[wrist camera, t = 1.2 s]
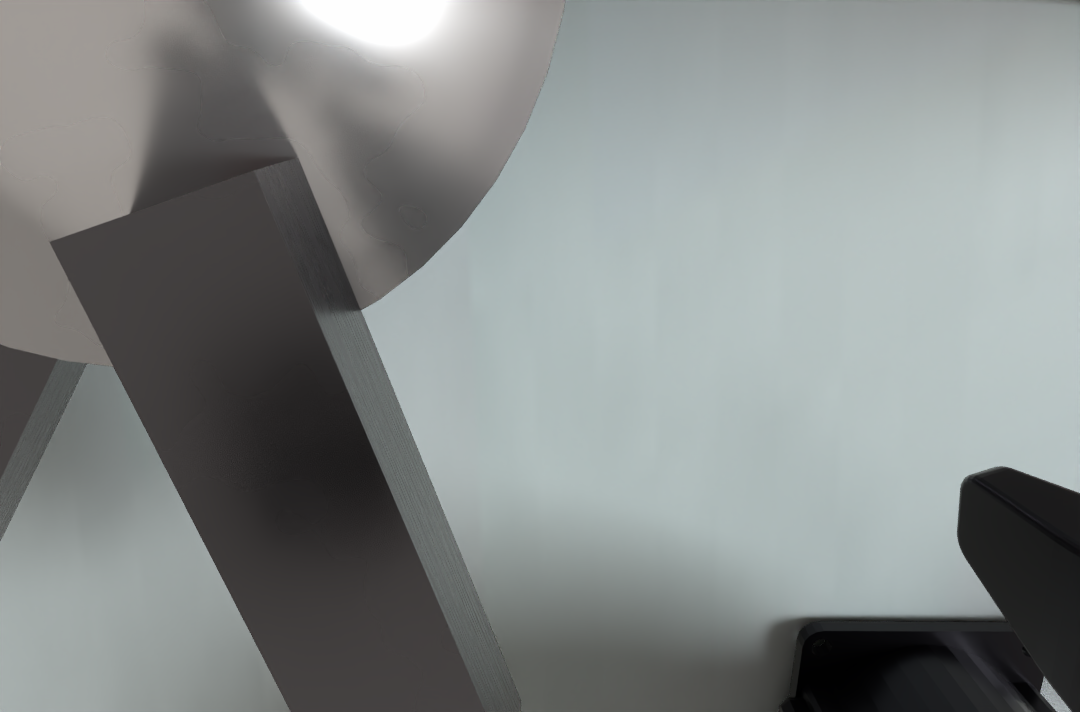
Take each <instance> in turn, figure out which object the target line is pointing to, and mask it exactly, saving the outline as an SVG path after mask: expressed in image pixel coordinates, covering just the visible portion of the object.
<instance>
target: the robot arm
mask: <svg viewBox="0 0 1080 712" xmlns="http://www.w3.org/2000/svg"><path fill="white" fill-rule="evenodd" d="M957 537H958V542H959V546H960V548H961V551H962V553H963V555H964V557H965V558H966V560H967V561H968V563H969V564H970V566H971V567H972V569H973V570H974V572H975V573H976V575H977V576H978V578H979V579H980V581H981V582H982V584H983V585H984V587H985V588H986V590H987V591H988V593H989V594H990V596H991V597H992V599H993V600H994V602H995V603H996V605H997V606H998V608H999V609H1000V611H1001V612H1002V614H1003V615H1004V617H1005V618H1006V620H1007V621H1008V622H821V621H819V622H813V623H810V624H808V625H806V626H804V627H803V628H802V630H801V631H800V632H799V635H798V637H797V643H796V650H795V657H794V665H793V672H792V679H791V686H790V693H789V697H787V698H785V699H784V701H783V702H782V703H781V705H780V706H779V712H1056V710H1055V709H1054V708H1053V707H1052V706H1051V705H1050V704H1049V703H1048V701H1047V700H1046V699H1045V698H1044V697H1043V696H1042V695H1041V694H1040V690H1041V686H1042V682H1043V678H1044V676H1045V678H1046V679H1047V680H1048V682H1049V683H1050V685H1051V686H1052V687H1053V688H1054V690H1055V691H1056V692H1057V694H1058V695H1059V696H1060V697H1061V699H1062V700H1063V701H1064V703H1065V704H1066V705H1067V706H1068V708H1069V709H1070V710H1071V711H1072V712H1080V493H1078V492H1075V491H1072V490H1070V489H1067V488H1064V487H1061V486H1059V485H1056V484H1053V483H1050V482H1048V481H1045V480H1042V479H1040V478H1037V477H1034V476H1031V475H1029V474H1026V473H1023V472H1020V471H1018V470H1015V469H1012V468H1008V467H1003V466H1000V467H994V468H991V469H987V470H984V471H981V472H978V473H975V474H971V475H969V476H967V477H965V479H964V480H963V482H962V484H961V488H960V501H959V514H958V527H957ZM821 639H825V642H824V643H823V644H821V645H820V646H816V647H814V646H813V644H814V643H815V642H816V641H817V640H821ZM1023 646H1024V647H1023Z"/></svg>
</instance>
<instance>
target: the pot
mask: <svg viewBox="0 0 1080 712" xmlns="http://www.w3.org/2000/svg"><path fill="white" fill-rule="evenodd" d="M86 365H87V363H79V362H70V361H64V360H60V359H56V358H51V357H47V356H43V355H39V354H34V353H30V352H26V351H22V350H18V349H13V348H9V347H6V346H4V345H1V344H0V541H1V539H2V537H3V535H4V533H5V531H6V529H7V527H8V525H9V523H10V521H11V519H12V517H13V514H14V512H15V510H16V508H17V506H18V504H19V502H20V500H21V498H22V496H23V494H24V492H25V490H26V488H27V486H28V484H29V482H30V480H31V478H32V475H33V473H34V471H35V469H36V467H37V465H38V463H39V461H40V459H41V457H42V455H43V453H44V451H45V449H46V447H47V445H48V443H49V441H50V439H51V437H52V434H53V432H54V430H55V428H56V426H57V424H58V422H59V420H60V418H61V416H62V414H63V412H64V410H65V408H66V406H67V404H68V402H69V400H70V398H71V395H72V393H73V391H74V389H75V387H76V385H77V383H78V381H79V379H80V377H81V375H82V373H83V371H84V369H85V367H86Z"/></svg>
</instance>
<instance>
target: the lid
mask: <svg viewBox="0 0 1080 712" xmlns="http://www.w3.org/2000/svg"><path fill="white" fill-rule="evenodd" d="M564 5H565V0H0V344H1V345H4V346H6V347H9V348H13V349H18V350H22V351H26V352H30V353H34V354H39V355H43V356H47V357H51V358H56V359H60V360H64V361H70V362H79V363H88V364H96V365H105V366H113V367H114V369H115V371H116V373H117V375H118V377H119V379H120V380H121V382H122V384H123V386H124V388H125V390H126V392H127V394H128V396H129V398H130V400H131V402H132V404H133V406H134V408H135V410H136V412H137V414H138V415H139V417H140V419H141V421H142V423H143V425H144V427H145V429H146V431H147V433H148V435H149V437H150V439H151V441H152V443H153V445H154V447H155V449H156V450H157V452H158V454H159V456H160V458H161V460H162V462H163V464H164V466H165V468H166V470H167V472H168V474H169V476H170V478H171V480H172V482H173V484H174V485H175V487H176V489H177V491H178V493H179V495H180V497H181V499H182V501H183V503H184V505H185V507H186V509H187V511H188V513H189V515H190V517H191V519H192V520H193V522H194V524H195V526H196V528H197V530H198V532H199V534H200V536H201V538H202V540H203V542H204V544H205V546H206V548H207V550H208V552H209V554H210V555H211V557H212V559H213V561H214V563H215V565H216V567H217V569H218V571H219V573H220V575H221V577H222V579H223V581H224V583H225V585H226V587H227V588H228V590H229V592H230V594H231V596H232V598H233V600H234V602H235V604H236V606H237V608H238V610H239V612H240V614H241V616H242V618H243V620H244V622H245V623H246V625H247V627H248V629H249V631H250V633H251V635H252V637H253V639H254V641H255V643H256V645H257V647H258V649H259V651H260V653H261V655H262V657H263V658H264V660H265V662H266V664H267V666H268V668H269V670H270V672H271V674H272V676H273V678H274V680H275V682H276V684H277V686H278V688H279V690H280V692H281V693H282V695H283V697H284V699H285V701H286V703H287V705H288V707H289V709H290V711H291V712H521V700H520V697H519V695H518V692H517V690H516V687H515V685H514V683H513V680H512V678H511V675H510V673H509V670H508V668H507V665H506V663H505V661H504V658H503V656H502V653H501V651H500V648H499V646H498V643H497V641H496V639H495V636H494V634H493V631H492V629H491V626H490V624H489V622H488V619H487V617H486V614H485V612H484V609H483V607H482V604H481V602H480V600H479V597H478V595H477V592H476V590H475V587H474V585H473V582H472V580H471V578H470V575H469V573H468V570H467V568H466V565H465V563H464V561H463V558H462V556H461V553H460V551H459V548H458V546H457V543H456V541H455V539H454V536H453V534H452V531H451V529H450V526H449V524H448V522H447V519H446V517H445V514H444V512H443V509H442V507H441V504H440V502H439V500H438V497H437V495H436V492H435V490H434V487H433V485H432V482H431V480H430V478H429V475H428V473H427V470H426V468H425V465H424V463H423V461H422V458H421V456H420V453H419V451H418V448H417V446H416V443H415V441H414V439H413V436H412V434H411V431H410V429H409V426H408V424H407V422H406V419H405V417H404V414H403V412H402V409H401V407H400V404H399V402H398V400H397V397H396V395H395V392H394V390H393V387H392V385H391V382H390V380H389V378H388V375H387V373H386V370H385V368H384V365H383V363H382V361H381V358H380V356H379V353H378V351H377V348H376V346H375V343H374V341H373V339H372V336H371V334H370V331H369V329H368V326H367V324H366V321H365V319H364V317H363V314H362V312H361V310H362V309H364V308H366V307H368V306H369V305H371V304H373V303H375V302H376V301H378V300H380V299H381V298H382V297H384V296H385V295H386V294H388V293H389V292H390V291H391V290H393V289H394V288H395V287H397V286H398V285H399V284H400V283H402V282H403V281H404V280H406V279H407V278H408V277H410V276H411V275H412V274H413V273H415V272H416V271H417V270H419V269H420V268H421V267H422V266H424V265H425V263H426V262H427V261H428V260H429V259H430V258H431V257H432V256H433V255H434V254H435V253H436V252H437V251H438V250H439V249H440V248H441V247H442V246H443V245H444V244H445V243H446V242H447V241H448V240H449V239H450V238H451V237H452V236H453V235H454V234H455V233H456V232H457V231H458V230H459V229H460V228H461V227H462V226H463V224H464V223H465V222H466V220H467V219H468V218H469V216H470V215H471V214H472V212H473V211H474V210H475V208H476V207H477V206H478V204H479V203H480V202H481V200H482V199H483V198H484V196H485V195H486V194H487V192H488V191H489V190H490V188H491V187H492V186H493V184H494V183H495V182H496V180H497V178H498V176H499V175H500V173H501V171H502V169H503V167H504V166H505V164H506V162H507V160H508V158H509V157H510V155H511V153H512V151H513V150H514V148H515V146H516V144H517V142H518V141H519V139H520V137H521V135H522V134H523V132H524V130H525V128H526V125H527V123H528V120H529V118H530V115H531V113H532V110H533V108H534V105H535V103H536V100H537V98H538V95H539V93H540V90H541V88H542V85H543V83H544V80H545V78H546V75H547V73H548V69H549V65H550V61H551V58H552V54H553V50H554V46H555V42H556V39H557V35H558V31H559V27H560V23H561V20H562V16H563V12H564Z"/></svg>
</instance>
